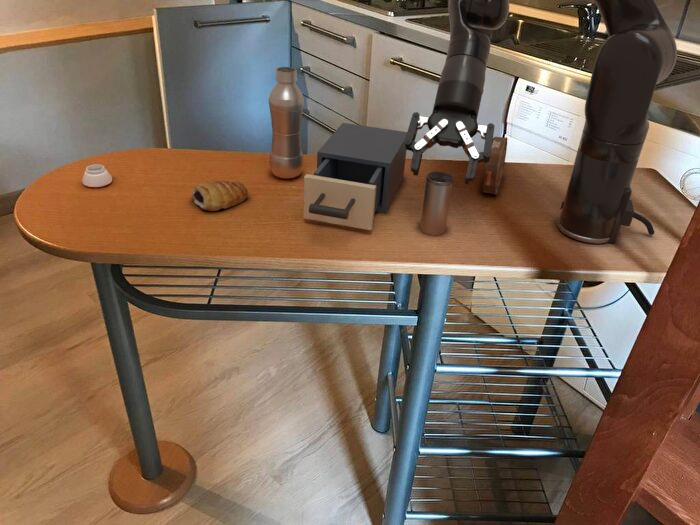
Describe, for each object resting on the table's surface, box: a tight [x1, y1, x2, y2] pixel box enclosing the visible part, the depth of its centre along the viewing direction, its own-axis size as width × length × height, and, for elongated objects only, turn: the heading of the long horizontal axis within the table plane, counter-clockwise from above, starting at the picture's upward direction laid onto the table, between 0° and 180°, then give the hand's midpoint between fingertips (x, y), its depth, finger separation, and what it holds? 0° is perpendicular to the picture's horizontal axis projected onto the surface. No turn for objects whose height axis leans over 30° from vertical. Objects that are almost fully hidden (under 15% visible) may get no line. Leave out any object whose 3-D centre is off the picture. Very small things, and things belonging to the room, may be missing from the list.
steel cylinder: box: [419, 171, 455, 236], centre depth 101 cm, size 4×4×10 cm
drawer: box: [303, 158, 385, 231], centre depth 103 cm, size 20×12×8 cm, turn 165°
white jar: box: [81, 163, 113, 188], centre depth 110 cm, size 5×3×5 cm
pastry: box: [191, 179, 249, 212], centre depth 107 cm, size 9×7×4 cm
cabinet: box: [316, 122, 408, 214], centre depth 113 cm, size 16×13×9 cm
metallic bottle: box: [268, 66, 305, 179], centre depth 113 cm, size 6×7×20 cm
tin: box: [481, 136, 508, 196], centre depth 118 cm, size 15×3×8 cm, turn 161°
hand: (441, 178), depth 102 cm, fingers open, 8 cm apart
